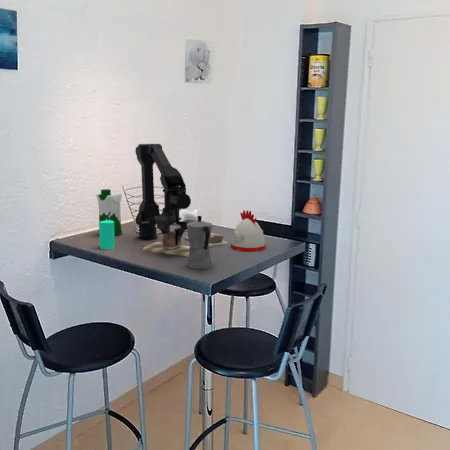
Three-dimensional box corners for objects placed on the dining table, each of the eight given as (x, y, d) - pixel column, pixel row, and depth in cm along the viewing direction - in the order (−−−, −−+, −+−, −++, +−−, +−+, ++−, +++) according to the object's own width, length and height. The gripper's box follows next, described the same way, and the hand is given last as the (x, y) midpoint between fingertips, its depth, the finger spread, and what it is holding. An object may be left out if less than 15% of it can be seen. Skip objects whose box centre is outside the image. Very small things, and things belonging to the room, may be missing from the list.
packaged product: (183, 229, 235) (202, 226, 241) (183, 240, 236) (202, 237, 242) (209, 237, 221) (228, 233, 227) (209, 249, 222) (228, 245, 228)
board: (143, 250, 217) (143, 247, 217) (157, 244, 226) (157, 241, 226) (188, 256, 209) (188, 253, 208) (200, 250, 217) (200, 247, 217)
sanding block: (163, 248, 214) (162, 234, 213) (172, 244, 221) (172, 230, 219) (171, 249, 213) (171, 235, 212) (181, 245, 219) (181, 231, 218)
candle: (102, 249, 217) (100, 219, 214) (97, 246, 222) (96, 216, 219) (117, 248, 219) (116, 218, 217) (112, 244, 225) (111, 215, 222)
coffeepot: (180, 262, 202) (180, 213, 198) (205, 259, 205) (205, 211, 201) (195, 273, 188) (195, 221, 184) (220, 271, 191) (221, 219, 187)
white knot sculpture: (180, 233, 247) (180, 213, 245) (172, 227, 258) (172, 208, 256) (204, 231, 251) (204, 212, 249) (196, 226, 262) (196, 207, 260)
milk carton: (95, 235, 240) (94, 189, 236) (110, 231, 248) (109, 187, 243) (110, 238, 236) (109, 191, 231) (125, 234, 243) (124, 189, 239)
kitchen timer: (247, 241, 233) (248, 206, 230) (272, 247, 224) (273, 211, 221) (223, 247, 224) (224, 210, 221) (248, 253, 214) (249, 215, 211)
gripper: (139, 206, 210) (140, 246, 213) (182, 210, 202) (182, 252, 205) (155, 201, 220) (156, 240, 223) (197, 205, 212) (197, 245, 215)
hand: (172, 244), depth 217 cm, fingers closed on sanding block, 4 cm apart
